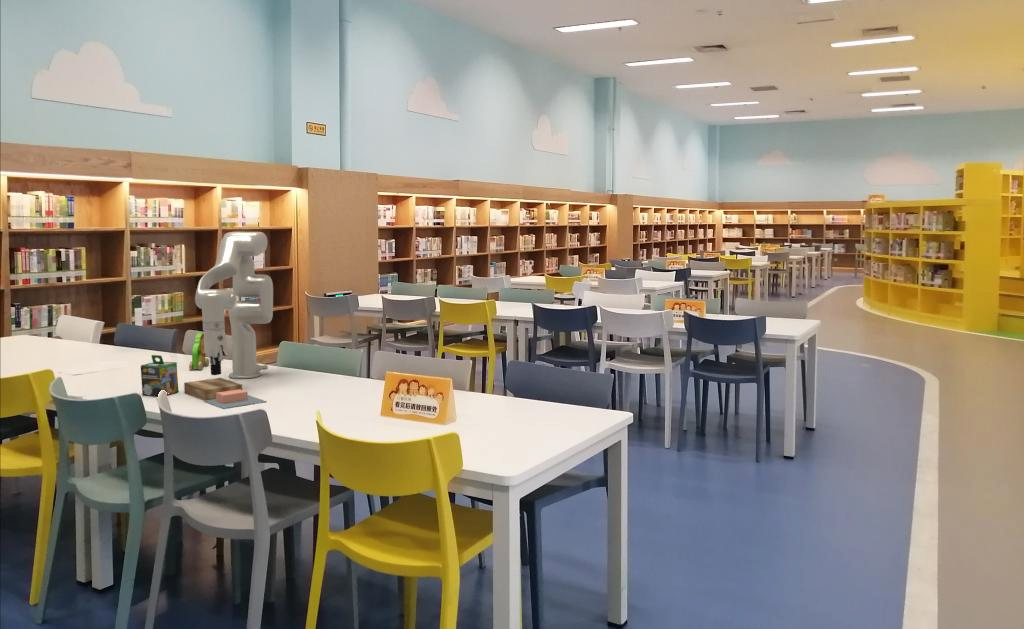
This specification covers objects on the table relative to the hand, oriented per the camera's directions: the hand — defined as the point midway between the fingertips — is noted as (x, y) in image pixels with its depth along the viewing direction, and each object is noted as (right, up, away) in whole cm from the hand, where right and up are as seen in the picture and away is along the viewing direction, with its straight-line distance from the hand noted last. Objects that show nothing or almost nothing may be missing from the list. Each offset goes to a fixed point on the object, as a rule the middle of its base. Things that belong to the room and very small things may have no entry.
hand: (216, 374), depth 295 cm
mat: (+11, -9, -11) cm, 18 cm away
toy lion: (-28, -1, +55) cm, 62 cm away
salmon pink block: (+10, -6, -11) cm, 15 cm away
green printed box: (-21, -8, +1) cm, 23 cm away
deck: (-1, -7, +1) cm, 8 cm away
